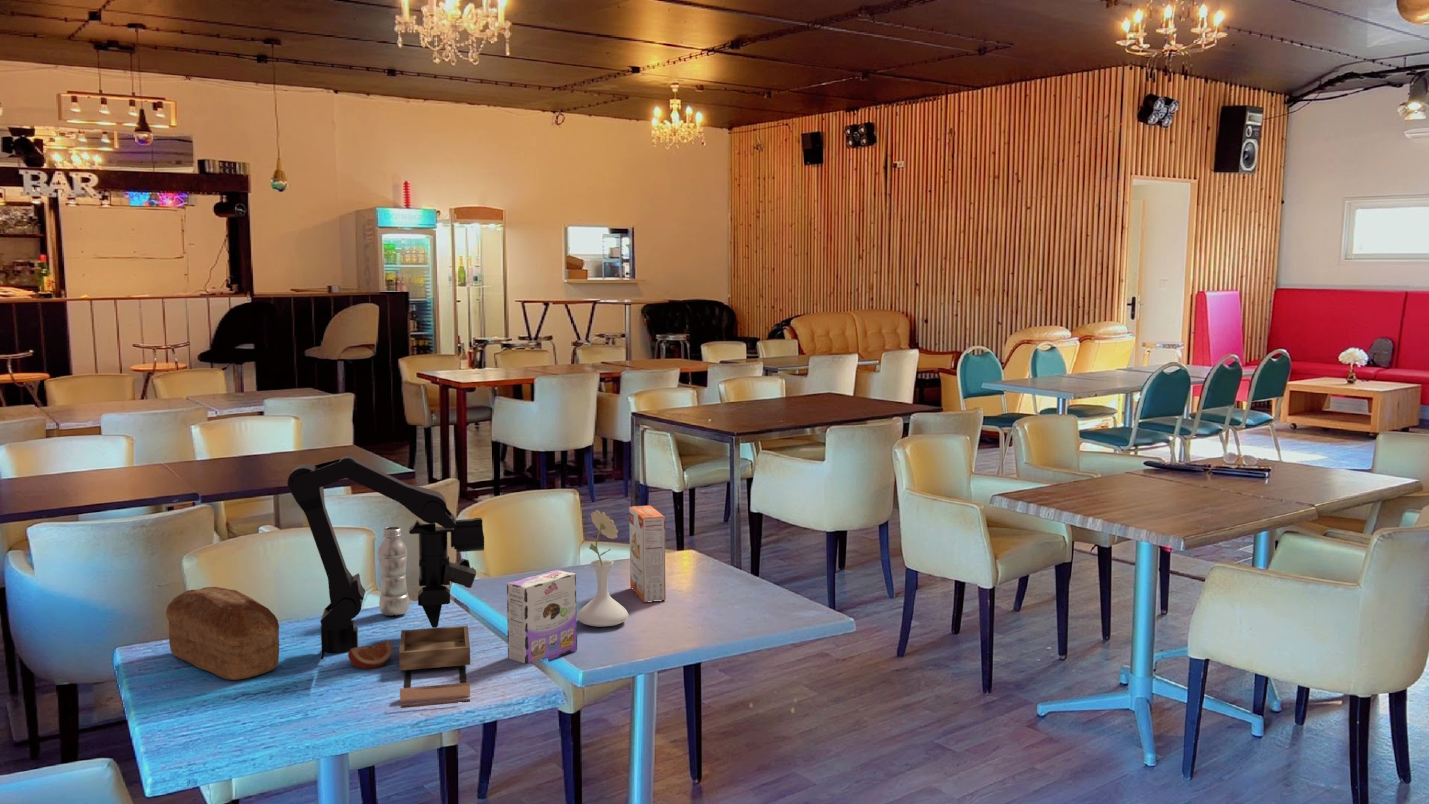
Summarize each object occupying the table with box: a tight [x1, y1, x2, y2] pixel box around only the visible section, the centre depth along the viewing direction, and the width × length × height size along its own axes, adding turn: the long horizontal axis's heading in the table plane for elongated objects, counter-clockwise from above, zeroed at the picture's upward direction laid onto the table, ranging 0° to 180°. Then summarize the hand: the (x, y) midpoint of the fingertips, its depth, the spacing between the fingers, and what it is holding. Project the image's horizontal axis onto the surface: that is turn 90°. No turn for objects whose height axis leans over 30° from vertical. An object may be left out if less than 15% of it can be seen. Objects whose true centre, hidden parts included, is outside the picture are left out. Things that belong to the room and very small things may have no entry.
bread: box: [165, 586, 280, 681], centre depth 209 cm, size 12×28×14 cm, turn 52°
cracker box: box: [628, 505, 667, 603], centre depth 258 cm, size 14×6×21 cm, turn 17°
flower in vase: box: [577, 509, 629, 628], centre depth 236 cm, size 13×11×25 cm
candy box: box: [506, 569, 578, 665], centre depth 213 cm, size 14×6×16 cm, turn 141°
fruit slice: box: [347, 640, 393, 670], centre depth 206 cm, size 8×7×5 cm
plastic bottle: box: [377, 526, 410, 617], centre depth 241 cm, size 6×7×20 cm
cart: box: [398, 625, 471, 671], centre depth 208 cm, size 13×14×4 cm
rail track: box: [399, 665, 471, 709], centre depth 202 cm, size 12×28×3 cm, turn 15°
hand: (434, 627), depth 220 cm, fingers closed
